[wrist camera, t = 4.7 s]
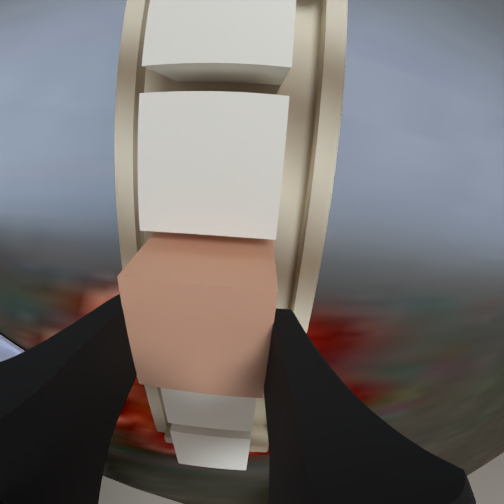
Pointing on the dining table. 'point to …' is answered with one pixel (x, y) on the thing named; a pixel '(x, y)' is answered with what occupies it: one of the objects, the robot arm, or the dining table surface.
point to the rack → (295, 158)
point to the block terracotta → (201, 312)
